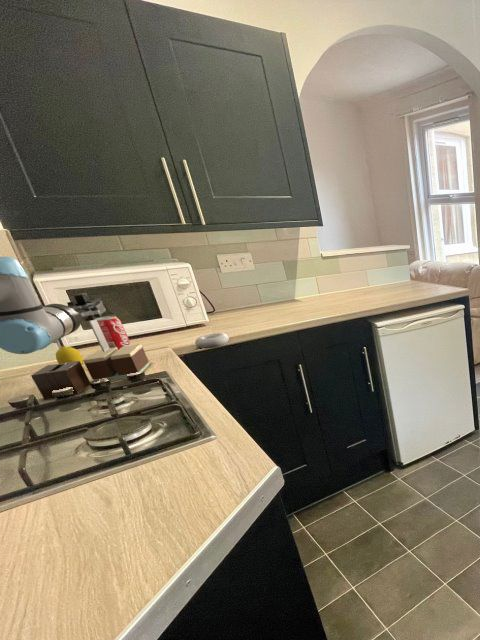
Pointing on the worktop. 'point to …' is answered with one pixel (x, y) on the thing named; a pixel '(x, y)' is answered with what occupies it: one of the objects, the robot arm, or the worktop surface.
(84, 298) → the knife
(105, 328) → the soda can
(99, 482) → the worktop surface
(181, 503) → the worktop surface
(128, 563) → the worktop surface
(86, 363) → the cake
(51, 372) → the knife block
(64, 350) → the lemon
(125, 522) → the worktop surface
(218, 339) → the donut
